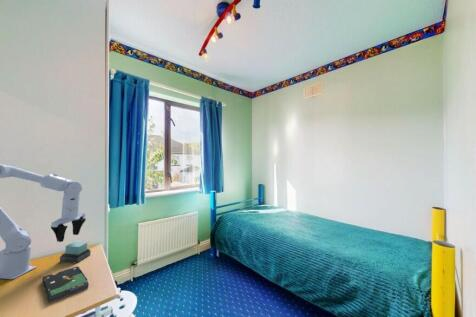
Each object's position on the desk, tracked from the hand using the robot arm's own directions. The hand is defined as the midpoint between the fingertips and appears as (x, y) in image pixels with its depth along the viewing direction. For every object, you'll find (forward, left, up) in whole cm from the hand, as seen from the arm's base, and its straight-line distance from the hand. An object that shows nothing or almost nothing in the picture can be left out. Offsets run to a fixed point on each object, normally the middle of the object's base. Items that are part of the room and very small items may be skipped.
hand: (68, 237), depth 86 cm
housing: (+3, +1, -7) cm, 7 cm away
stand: (+3, +1, -9) cm, 10 cm away
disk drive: (+15, -16, -10) cm, 24 cm away
